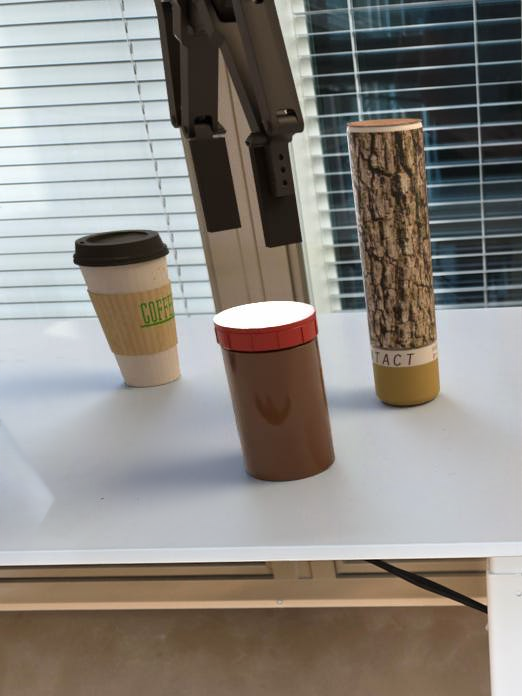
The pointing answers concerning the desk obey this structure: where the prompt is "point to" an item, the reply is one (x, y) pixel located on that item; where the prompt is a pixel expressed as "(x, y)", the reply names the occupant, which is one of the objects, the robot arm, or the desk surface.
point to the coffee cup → (132, 302)
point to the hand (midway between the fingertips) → (252, 236)
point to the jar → (281, 411)
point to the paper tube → (395, 257)
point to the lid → (266, 326)
